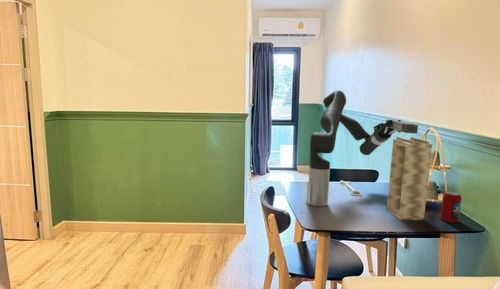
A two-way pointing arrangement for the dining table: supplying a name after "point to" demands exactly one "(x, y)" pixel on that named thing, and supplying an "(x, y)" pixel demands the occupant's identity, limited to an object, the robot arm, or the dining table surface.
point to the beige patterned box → (409, 178)
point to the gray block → (403, 126)
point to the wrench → (351, 188)
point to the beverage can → (451, 206)
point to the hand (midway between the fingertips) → (395, 121)
